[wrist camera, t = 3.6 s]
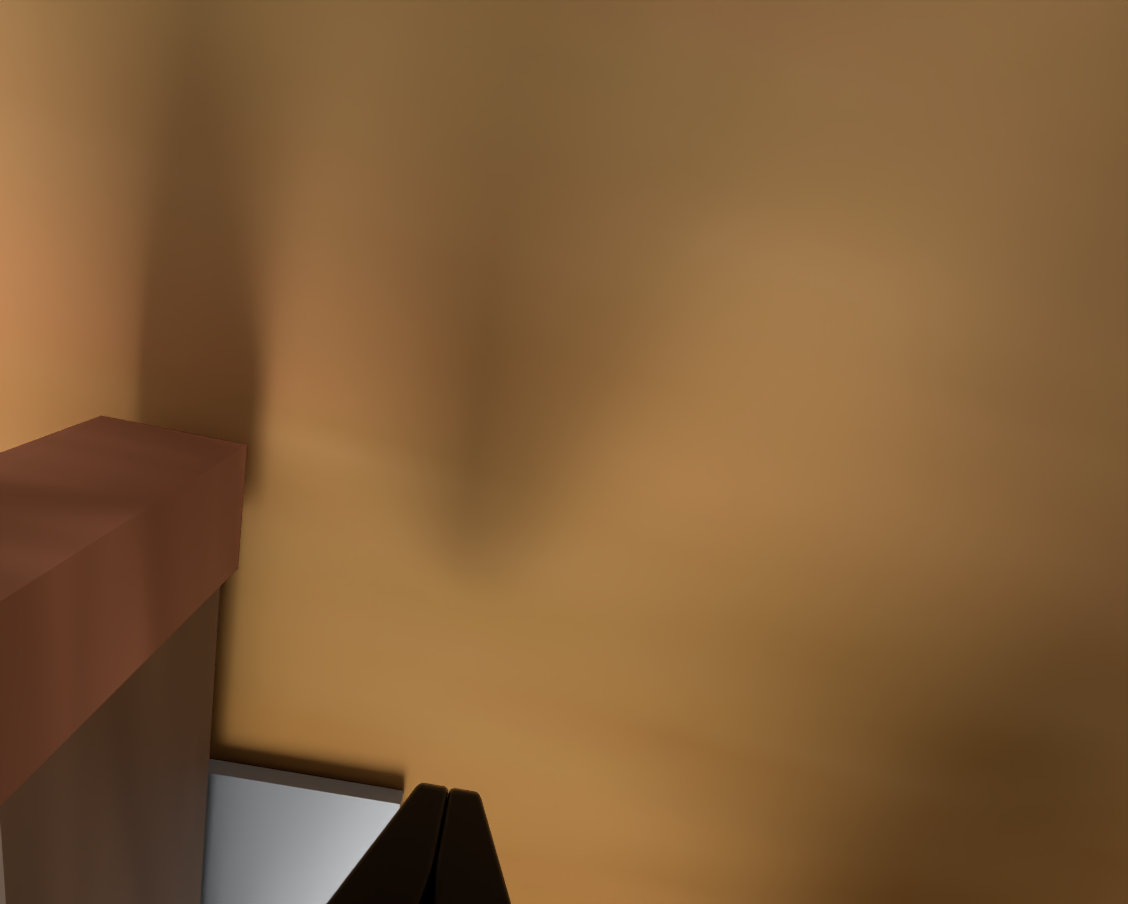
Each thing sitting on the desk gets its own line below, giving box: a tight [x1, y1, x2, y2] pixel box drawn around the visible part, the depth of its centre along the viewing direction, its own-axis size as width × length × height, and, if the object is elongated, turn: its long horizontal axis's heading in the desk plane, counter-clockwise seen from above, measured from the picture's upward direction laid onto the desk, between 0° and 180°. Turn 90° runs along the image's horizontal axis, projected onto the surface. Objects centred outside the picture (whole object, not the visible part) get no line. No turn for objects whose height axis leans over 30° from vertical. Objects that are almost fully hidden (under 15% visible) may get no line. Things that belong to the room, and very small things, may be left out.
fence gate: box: [0, 416, 247, 904], centre depth 8 cm, size 2×10×4 cm, turn 167°
